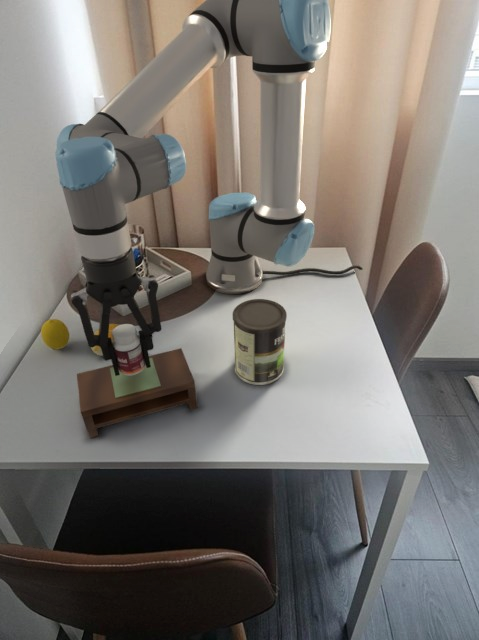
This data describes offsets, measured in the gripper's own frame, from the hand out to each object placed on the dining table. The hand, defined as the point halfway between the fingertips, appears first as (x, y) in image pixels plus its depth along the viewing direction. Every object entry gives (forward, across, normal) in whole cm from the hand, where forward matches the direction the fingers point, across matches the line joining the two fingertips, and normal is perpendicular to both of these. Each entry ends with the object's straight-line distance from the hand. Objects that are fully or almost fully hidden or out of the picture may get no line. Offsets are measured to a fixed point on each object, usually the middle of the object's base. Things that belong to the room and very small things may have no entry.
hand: (132, 366), depth 80 cm
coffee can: (+10, -25, -1) cm, 27 cm away
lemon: (+10, +14, -23) cm, 29 cm away
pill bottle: (0, 0, 0) cm, 0 cm away
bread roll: (+10, +3, -20) cm, 23 cm away
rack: (+10, 0, 0) cm, 10 cm away
